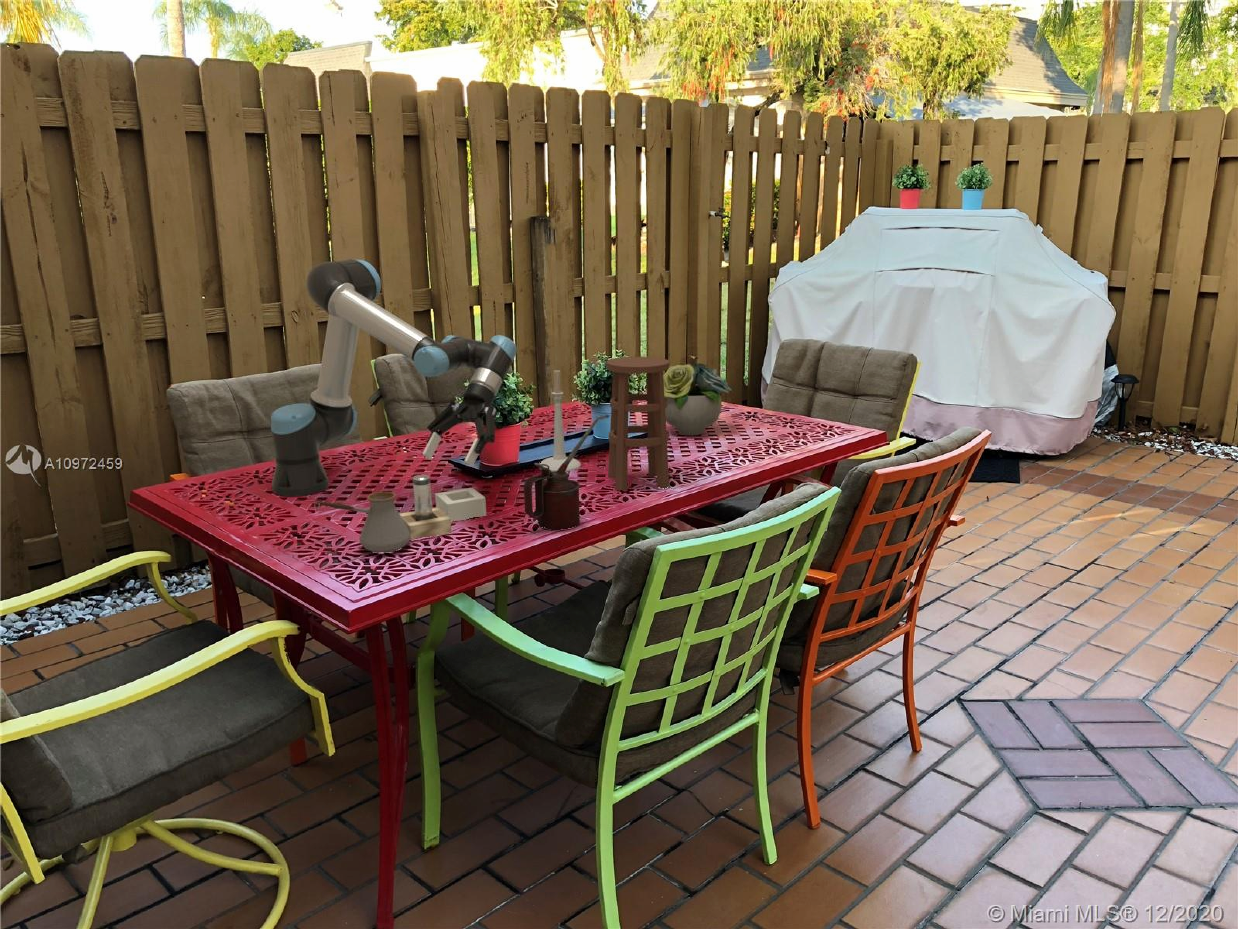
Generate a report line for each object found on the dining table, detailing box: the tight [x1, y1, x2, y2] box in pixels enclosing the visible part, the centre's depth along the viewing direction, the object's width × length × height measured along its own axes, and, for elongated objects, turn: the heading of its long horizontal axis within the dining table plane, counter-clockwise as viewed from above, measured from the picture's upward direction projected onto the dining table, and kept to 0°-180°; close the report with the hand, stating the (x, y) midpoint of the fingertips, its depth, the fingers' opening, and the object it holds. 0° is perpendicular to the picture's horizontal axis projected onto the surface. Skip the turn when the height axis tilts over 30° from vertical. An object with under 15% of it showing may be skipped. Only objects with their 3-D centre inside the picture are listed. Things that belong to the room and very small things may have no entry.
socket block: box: [399, 506, 452, 541], centre depth 215 cm, size 10×10×4 cm
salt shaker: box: [411, 474, 433, 522], centre depth 213 cm, size 4×4×14 cm
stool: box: [605, 356, 670, 491], centre depth 247 cm, size 20×35×20 cm
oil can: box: [523, 414, 611, 531], centre depth 220 cm, size 28×11×25 cm, turn 136°
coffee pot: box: [313, 491, 410, 552], centre depth 200 cm, size 21×12×15 cm, turn 131°
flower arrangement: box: [663, 362, 733, 436], centre depth 304 cm, size 25×25×24 cm
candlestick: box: [538, 369, 582, 473], centre depth 265 cm, size 13×13×30 cm
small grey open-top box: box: [434, 487, 487, 522], centre depth 227 cm, size 10×10×5 cm
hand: (447, 460), depth 218 cm, fingers open, 13 cm apart
